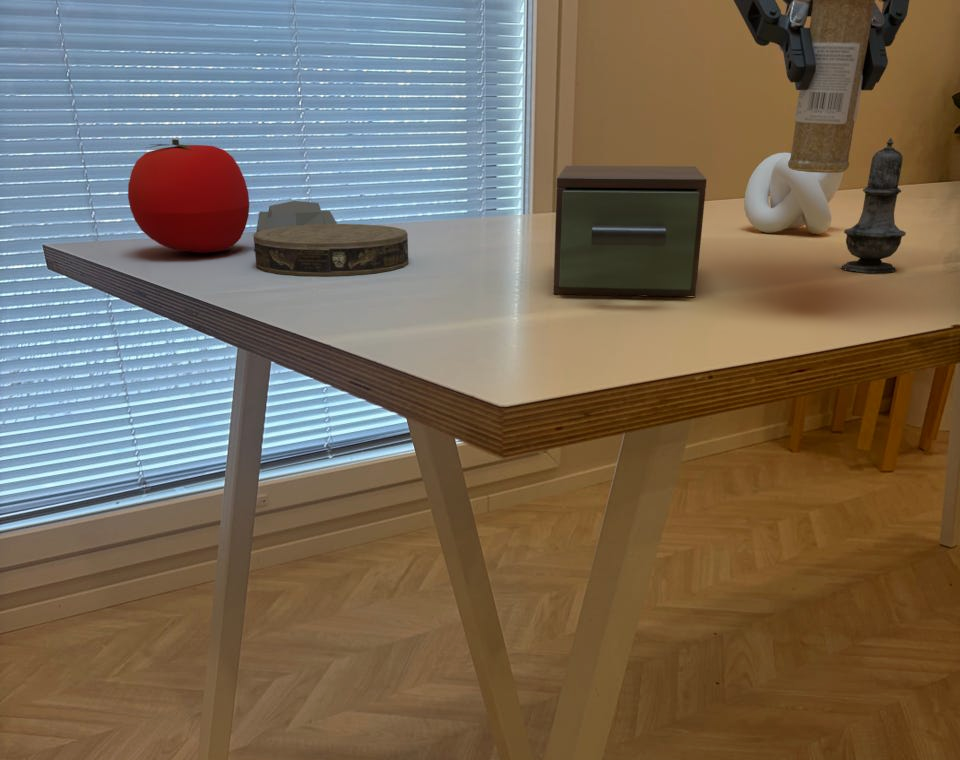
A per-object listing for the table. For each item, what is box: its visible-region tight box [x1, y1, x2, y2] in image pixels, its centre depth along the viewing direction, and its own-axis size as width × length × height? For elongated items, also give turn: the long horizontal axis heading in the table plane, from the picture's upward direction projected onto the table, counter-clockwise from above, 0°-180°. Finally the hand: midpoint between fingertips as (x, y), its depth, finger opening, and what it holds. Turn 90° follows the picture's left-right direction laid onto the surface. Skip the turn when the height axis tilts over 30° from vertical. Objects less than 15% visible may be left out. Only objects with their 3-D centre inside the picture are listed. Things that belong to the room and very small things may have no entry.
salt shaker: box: [841, 137, 907, 274], centre depth 102 cm, size 6×6×12 cm
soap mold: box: [253, 200, 338, 252], centre depth 125 cm, size 10×20×4 cm, turn 10°
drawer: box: [559, 188, 700, 290], centre depth 92 cm, size 18×11×8 cm, turn 173°
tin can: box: [253, 223, 409, 277], centre depth 107 cm, size 16×16×3 cm
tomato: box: [127, 138, 250, 254], centre depth 112 cm, size 12×14×11 cm
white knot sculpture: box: [743, 152, 845, 235], centre depth 129 cm, size 11×12×9 cm
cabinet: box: [552, 165, 708, 297], centre depth 96 cm, size 15×13×10 cm
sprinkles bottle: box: [788, 0, 876, 173], centre depth 75 cm, size 5×5×14 cm
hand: (839, 80), depth 74 cm, fingers closed on sprinkles bottle, 4 cm apart
